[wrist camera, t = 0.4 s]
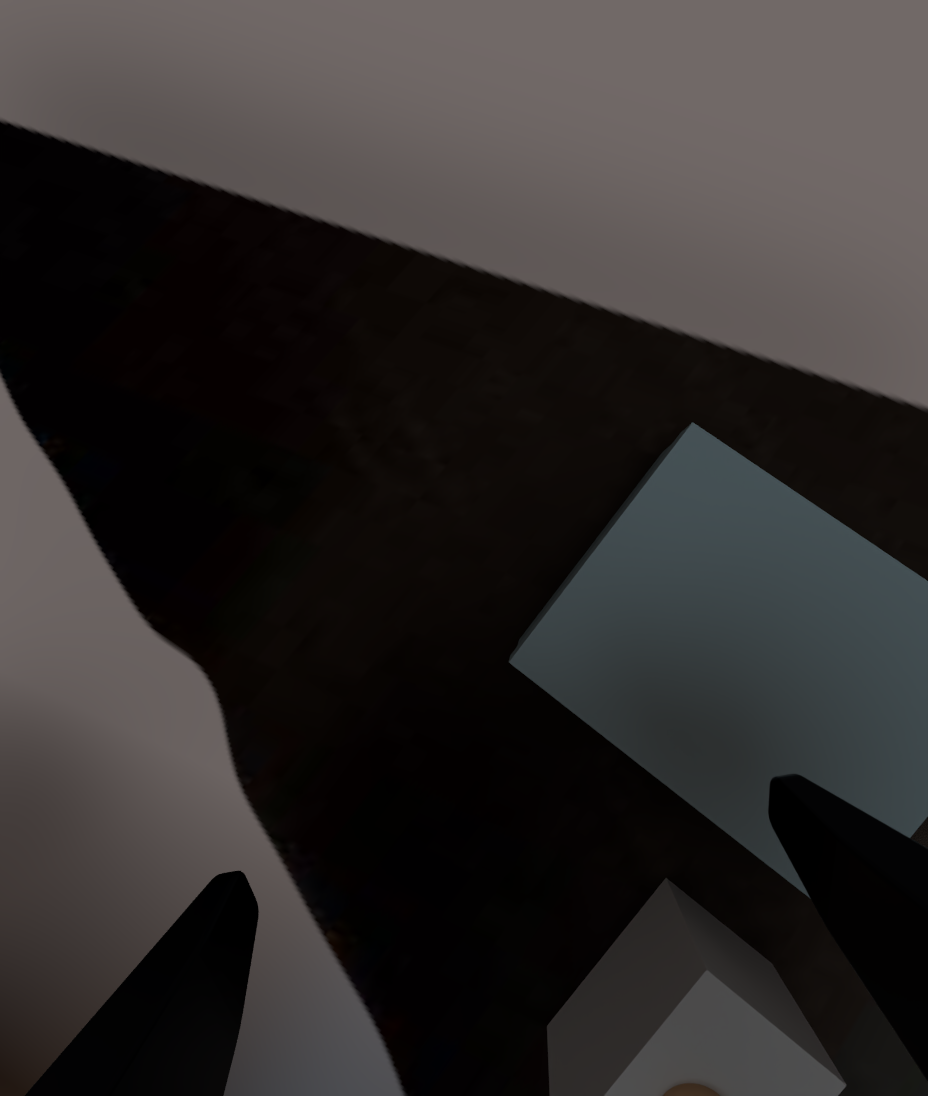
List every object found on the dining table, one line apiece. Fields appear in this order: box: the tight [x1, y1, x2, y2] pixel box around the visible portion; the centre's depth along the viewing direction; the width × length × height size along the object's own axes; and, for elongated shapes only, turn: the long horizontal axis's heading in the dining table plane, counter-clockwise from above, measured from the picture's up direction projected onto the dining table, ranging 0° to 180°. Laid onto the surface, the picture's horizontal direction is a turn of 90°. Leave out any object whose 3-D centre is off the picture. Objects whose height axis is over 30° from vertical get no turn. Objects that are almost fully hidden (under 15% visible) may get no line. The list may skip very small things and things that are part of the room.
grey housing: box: [547, 878, 847, 1096], centre depth 18 cm, size 5×8×6 cm, turn 143°
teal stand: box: [509, 422, 928, 899], centre depth 20 cm, size 14×11×3 cm
